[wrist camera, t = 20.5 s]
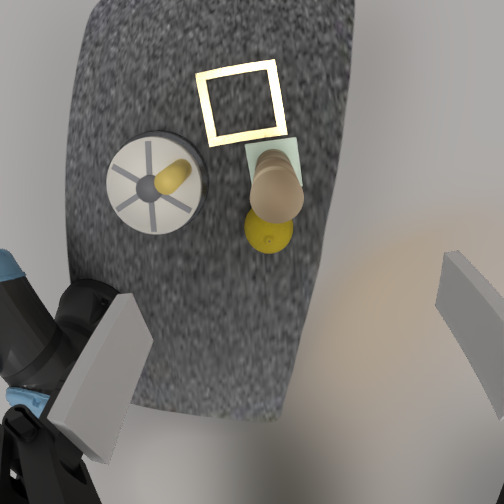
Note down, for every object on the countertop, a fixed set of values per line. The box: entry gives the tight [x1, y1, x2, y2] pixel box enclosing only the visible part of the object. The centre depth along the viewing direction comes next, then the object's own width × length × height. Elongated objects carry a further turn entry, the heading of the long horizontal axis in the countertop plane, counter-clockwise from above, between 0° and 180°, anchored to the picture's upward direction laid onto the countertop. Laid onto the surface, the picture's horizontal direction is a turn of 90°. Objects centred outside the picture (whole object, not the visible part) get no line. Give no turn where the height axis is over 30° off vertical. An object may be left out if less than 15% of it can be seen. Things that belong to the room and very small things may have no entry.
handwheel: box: [106, 136, 202, 234], centre depth 32 cm, size 12×12×8 cm
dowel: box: [250, 149, 304, 224], centre depth 29 cm, size 4×4×14 cm
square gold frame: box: [195, 60, 287, 147], centre depth 32 cm, size 9×9×1 cm
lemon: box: [244, 208, 293, 253], centre depth 35 cm, size 6×6×8 cm
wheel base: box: [117, 131, 209, 229], centre depth 36 cm, size 13×13×1 cm
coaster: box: [245, 137, 303, 186], centre depth 35 cm, size 6×6×1 cm
